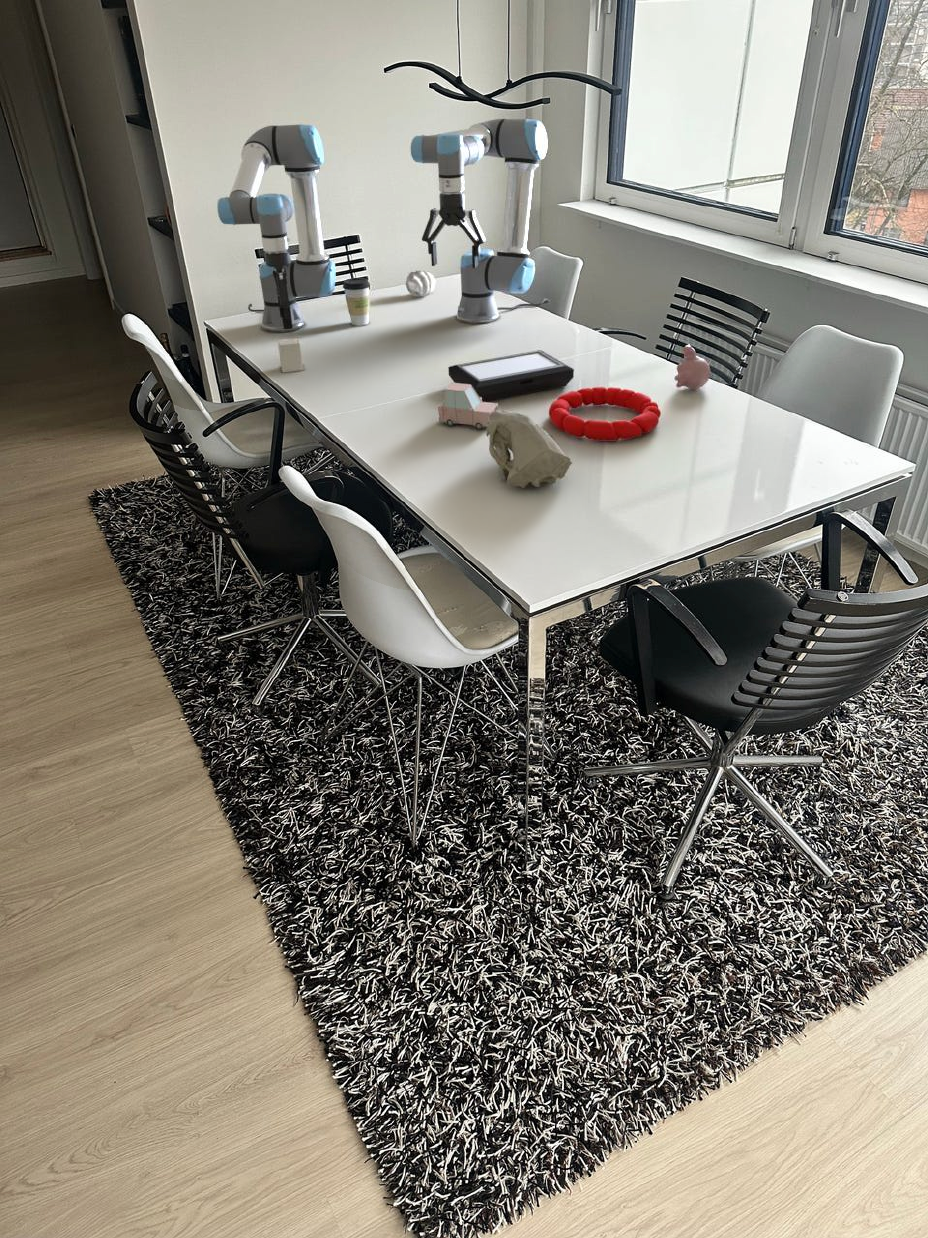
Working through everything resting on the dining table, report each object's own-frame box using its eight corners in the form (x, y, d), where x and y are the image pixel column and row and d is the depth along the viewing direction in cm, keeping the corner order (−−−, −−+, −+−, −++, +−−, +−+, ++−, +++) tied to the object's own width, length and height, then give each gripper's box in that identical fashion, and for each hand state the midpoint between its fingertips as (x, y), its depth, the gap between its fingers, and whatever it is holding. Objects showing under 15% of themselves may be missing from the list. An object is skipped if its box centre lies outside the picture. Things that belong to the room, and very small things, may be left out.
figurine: (665, 387, 264) (669, 347, 257) (693, 380, 268) (698, 340, 261) (686, 396, 257) (690, 355, 250) (714, 388, 262) (720, 348, 255)
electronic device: (476, 384, 253) (448, 364, 268) (476, 405, 256) (449, 384, 271) (574, 366, 263) (541, 347, 278) (573, 386, 266) (541, 367, 281)
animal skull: (496, 517, 219) (521, 479, 201) (463, 429, 225) (484, 384, 207) (557, 503, 225) (586, 465, 206) (523, 417, 231) (549, 373, 212)
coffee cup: (372, 326, 323) (368, 283, 314) (345, 327, 323) (340, 284, 315) (374, 318, 331) (371, 276, 322) (348, 319, 331) (344, 277, 323)
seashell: (399, 296, 356) (397, 270, 350) (432, 290, 362) (431, 264, 356) (410, 301, 348) (409, 275, 343) (444, 295, 354) (443, 269, 349)
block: (282, 372, 285) (278, 345, 280) (281, 366, 290) (277, 339, 285) (303, 370, 286) (299, 343, 281) (301, 364, 291) (297, 337, 286)
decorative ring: (589, 435, 224) (684, 402, 234) (527, 398, 247) (617, 369, 256) (589, 461, 229) (683, 427, 238) (529, 422, 251) (617, 393, 260)
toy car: (488, 432, 240) (488, 396, 234) (436, 426, 244) (434, 390, 239) (499, 419, 247) (499, 384, 241) (448, 413, 252) (447, 379, 246)
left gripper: (292, 258, 258) (302, 332, 270) (285, 241, 278) (294, 310, 290) (266, 261, 257) (277, 335, 269) (261, 243, 277) (271, 312, 289)
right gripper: (408, 193, 268) (413, 266, 280) (487, 195, 260) (488, 270, 273) (417, 188, 273) (422, 260, 286) (495, 190, 266) (496, 264, 278)
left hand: (286, 322), depth 280 cm, fingers open, 13 cm apart
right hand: (454, 266), depth 279 cm, fingers open, 13 cm apart
